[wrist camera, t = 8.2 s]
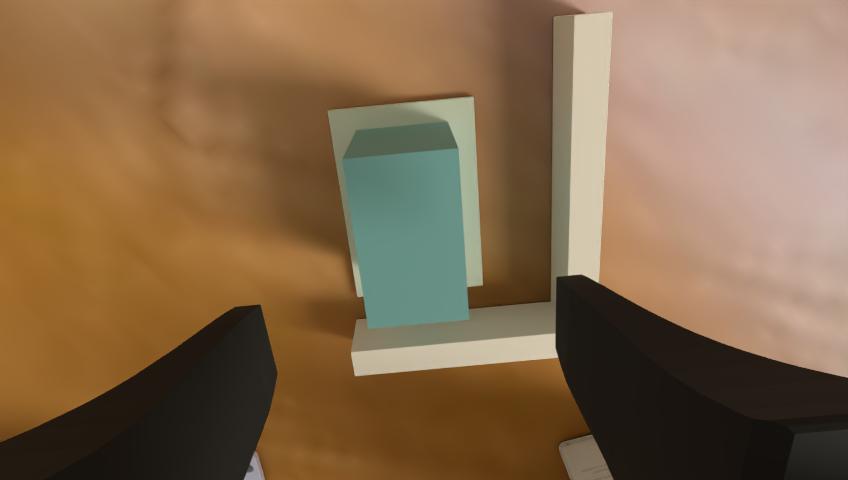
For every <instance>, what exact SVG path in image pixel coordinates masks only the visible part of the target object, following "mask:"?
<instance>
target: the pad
mask: <svg viewBox="0 0 848 480" xmlns="http://www.w3.org/2000/svg"><path fill="white" fill-rule="evenodd" d="M327 112H328V118H329V124H330V131H331V137H332V143H333V149H334V155H335V161H336V168H337V174H338V180H339V186H340V192H341V199H342V205H343V211H344V217H345V223H346V230H347V236H348V242H349V248H350V254H351V261H352V267H353V273H354V279H355V285H356V291H357V297H363V291H362V285H361V278H360V272H359V266H358V259H357V253H356V246H355V240H354V233H353V227H352V220H351V214H350V207H349V201H348V194H347V188H346V181H345V175H344V169H343V162H342V158H343V156H344V154H345V152H346V150H347V148H348V146H349V144H350V142H351V140H352V138H353V136H354V134H355V132H356V130H364V129H374V128H385V127H395V126H406V125H417V124H427V123H438V122H448V123H449V126H450V128H451V131H452V133H453V136H454V138H455V141H456V143H457V146H458V148H459V164H460V180H461V196H462V212H463V228H464V244H465V261H466V277H467V287H472V286H482V285H483V277H482V256H481V236H480V216H479V196H478V176H477V156H476V136H475V115H474V97H473V96H468V97H457V98H447V99H437V100H426V101H416V102H405V103H395V104H385V105H374V106H364V107H353V108H343V109H333V110H328V111H327Z"/></svg>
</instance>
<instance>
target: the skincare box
mask: <svg viewBox="0 0 848 480" xmlns="http://www.w3.org/2000/svg"><path fill="white" fill-rule="evenodd" d="M559 451H560V454H561V457H562V460H563V462H564V464H565V466H566V469H567V472H568V475H569V478H570V480H613V478H612V475H611V473H610V471H609V469H608V466H607V464H606V462H605V460H604V458H603V456H602V453H601V451H600V449H599V447H598V445H597V443H596V441H595V439H594V437H593V435H588V436H584V437H581V438H576V439H573V440H569V441H565V442H562V443H561V444H560V446H559Z"/></svg>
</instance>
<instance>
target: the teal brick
mask: <svg viewBox="0 0 848 480" xmlns="http://www.w3.org/2000/svg"><path fill="white" fill-rule="evenodd" d="M342 162H343V169H344V175H345V181H346V188H347V194H348V201H349V207H350V214H351V220H352V227H353V233H354V240H355V246H356V253H357V259H358V266H359V272H360V278H361V285H362V291H363V298H364V304H365V311H366V317H367V324H368V329H373V328H384V327H394V326H405V325H416V324H427V323H438V322H449V321H460V320H469V309H468V293H467V277H466V261H465V244H464V228H463V212H462V196H461V180H460V164H459V148H458V146H457V143H456V141H455V138H454V136H453V133H452V131H451V128H450V126H449V123H448V122H438V123H427V124H417V125H406V126H395V127H385V128H374V129H364V130H356V132H355V134H354V136H353V138H352V140H351V142H350V144H349V146H348V148H347V150H346V152H345V154H344V156H343V158H342Z"/></svg>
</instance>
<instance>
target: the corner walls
mask: <svg viewBox="0 0 848 480" xmlns="http://www.w3.org/2000/svg"><path fill="white" fill-rule="evenodd" d="M612 16H613V12H600V13H584V14H574V15H564V16H554V26H553V126H552V226H551V301H550V302H539V303H528V304H517V305H506V306H496V307H485V308H474V309H469V320H460V321H449V322H438V323H427V324H416V325H405V326H394V327H384V328H373V329H368V324H367V318H366V319H357V320H356V326H355V331H354V337H353V343H352V349H351V356H352V362H353V367H354V373H355V376H362V375H373V374H384V373H395V372H406V371H417V370H428V369H439V368H450V367H461V366H471V365H482V364H493V363H504V362H515V361H526V360H537V359H548V358H558V355H557V352H556V348H555V334H556V277H560V276H570V275H581V274H582V275H584V276H586V277H588V278H590V279H592V280H594V281H596V282H598V283H599V267H600V247H601V228H602V209H603V190H604V170H605V151H606V132H607V112H608V93H609V74H610V55H611V35H612Z"/></svg>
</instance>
